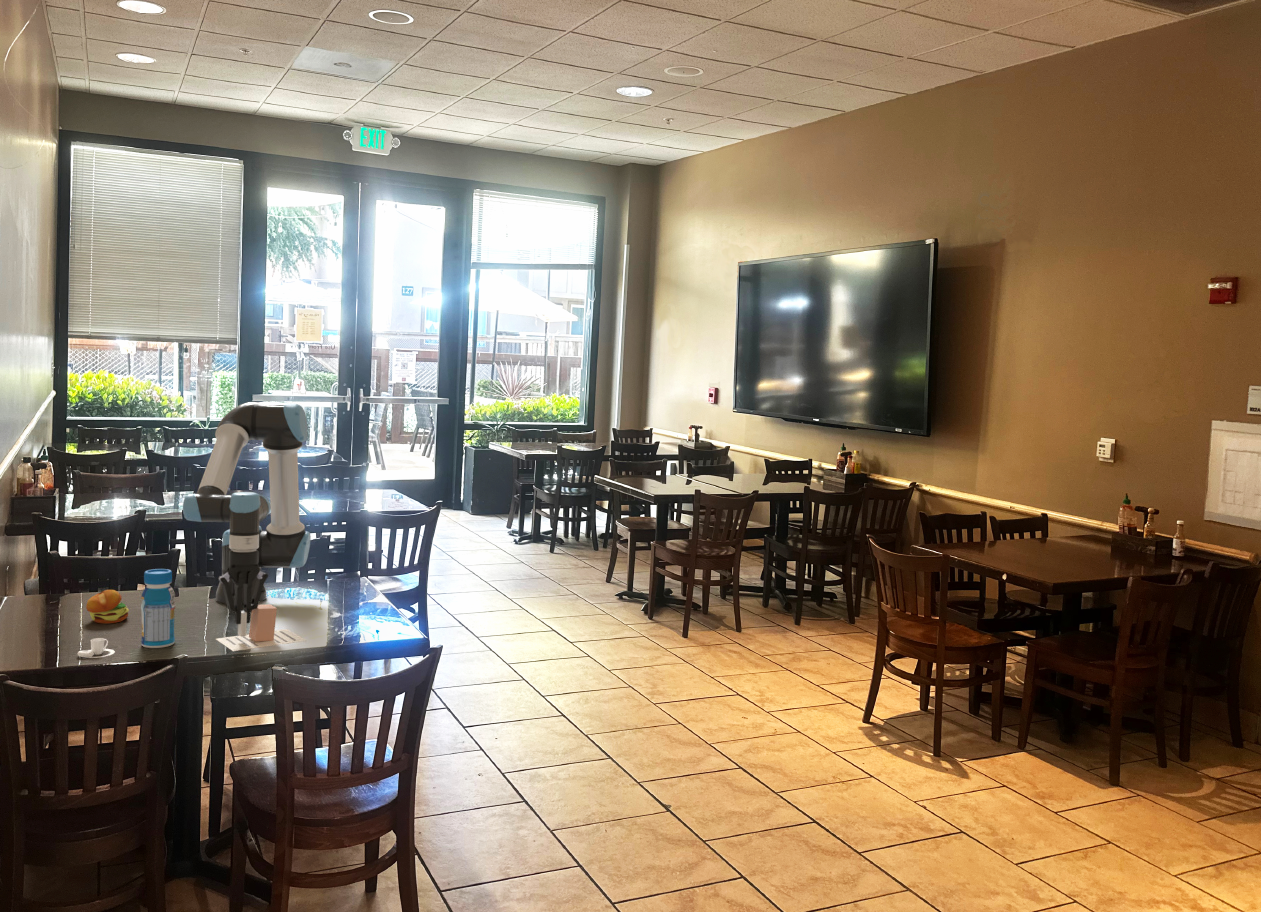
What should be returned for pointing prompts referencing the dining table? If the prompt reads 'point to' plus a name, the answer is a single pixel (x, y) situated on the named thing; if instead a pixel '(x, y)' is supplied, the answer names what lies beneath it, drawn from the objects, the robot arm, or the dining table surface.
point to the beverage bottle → (157, 609)
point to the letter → (247, 643)
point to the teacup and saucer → (96, 649)
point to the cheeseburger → (107, 607)
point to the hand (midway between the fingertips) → (242, 635)
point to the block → (263, 623)
